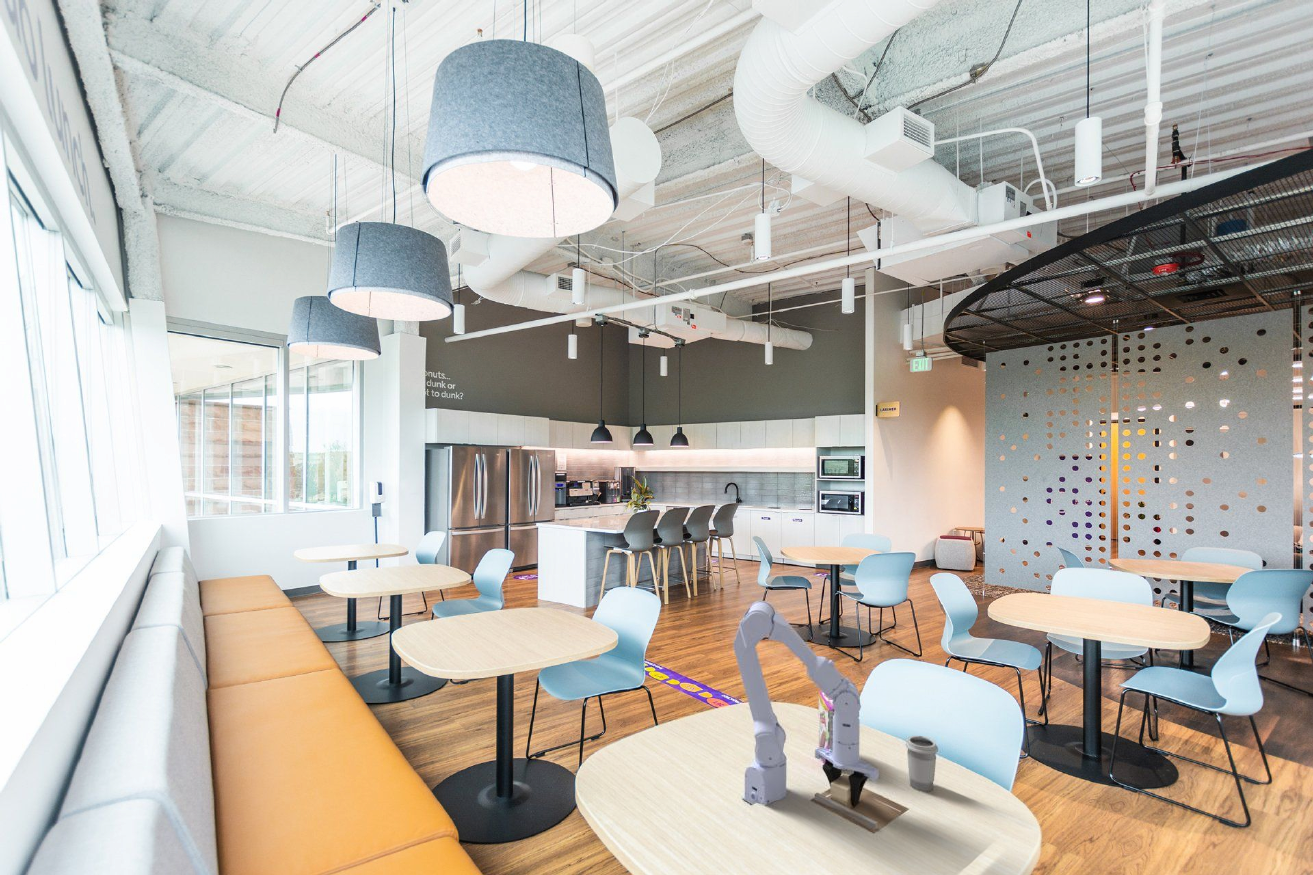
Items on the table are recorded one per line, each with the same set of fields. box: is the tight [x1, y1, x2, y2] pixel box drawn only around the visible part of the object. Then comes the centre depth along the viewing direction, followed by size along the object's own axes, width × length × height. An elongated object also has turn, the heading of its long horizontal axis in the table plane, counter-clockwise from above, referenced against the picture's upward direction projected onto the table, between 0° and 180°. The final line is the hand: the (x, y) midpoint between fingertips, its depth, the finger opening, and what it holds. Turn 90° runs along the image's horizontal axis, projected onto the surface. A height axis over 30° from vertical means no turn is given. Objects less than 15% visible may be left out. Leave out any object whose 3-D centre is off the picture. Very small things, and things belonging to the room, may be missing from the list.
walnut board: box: [809, 787, 910, 834], centre depth 146 cm, size 14×16×3 cm
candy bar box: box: [818, 691, 848, 771], centre depth 167 cm, size 11×5×16 cm, turn 179°
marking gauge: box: [830, 773, 861, 809], centre depth 148 cm, size 10×4×4 cm, turn 135°
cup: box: [905, 735, 939, 793], centre depth 154 cm, size 7×7×12 cm
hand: (845, 800), depth 147 cm, fingers closed on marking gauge, 4 cm apart
